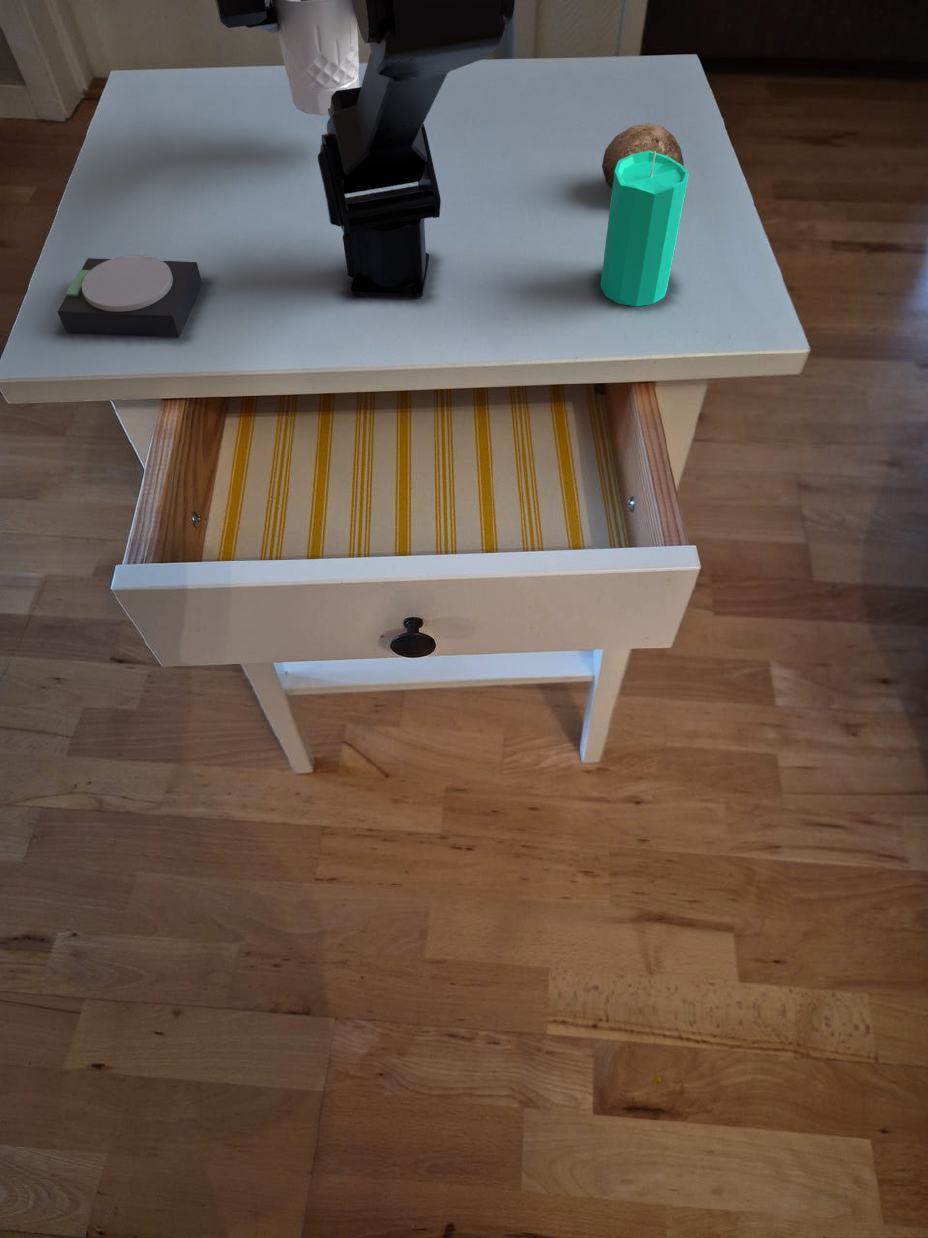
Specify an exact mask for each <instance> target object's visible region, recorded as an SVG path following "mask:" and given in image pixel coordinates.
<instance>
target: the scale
mask: <svg viewBox="0 0 928 1238" xmlns="http://www.w3.org/2000/svg"><path fill="white" fill-rule="evenodd" d="M202 286H203V280H202V277H201V273H200V270H199V265H198V262H197V261H180V260H179V261H178V260H161V259H159V258H157V257H154V256H150V255H145V254H130V255H129V254H128V255H122V256H117V257H114V258H99V257H98V258H97V257H96V258H95V257H94V258H93V257H87V258H86V261H85V262H84V264H83V265H82V267H81V268H80V269H79V270H78V272H77V273H76V274H75V277H74V279H73V281H72V282H71V284H70V286H69V288H67V291H66V293H65V297H64V298H63V301H61V304H60V305H59V307H58V310H57V312H56V313H57V314H58V317H59V319H60V322H61V324H62V327H63V328H64V331H65V333H66V334H75V335H76V334H77V335H79V334H80V335H102V336H103V335H104V336H130V337H152V338H153V337H154V338H177V339H178V338H180V337H181V335H182V332H183V330H184V328H185V325H186V323H187V321H188V319H189V317H190V314H191V312H192V310H193V307H194V305H195V302H196V301H197V297H198V295H199V293H200V290H201V288H202Z"/></svg>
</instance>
